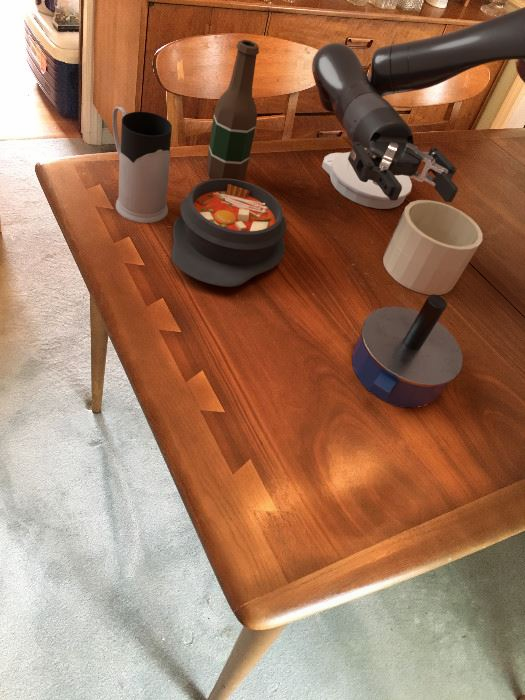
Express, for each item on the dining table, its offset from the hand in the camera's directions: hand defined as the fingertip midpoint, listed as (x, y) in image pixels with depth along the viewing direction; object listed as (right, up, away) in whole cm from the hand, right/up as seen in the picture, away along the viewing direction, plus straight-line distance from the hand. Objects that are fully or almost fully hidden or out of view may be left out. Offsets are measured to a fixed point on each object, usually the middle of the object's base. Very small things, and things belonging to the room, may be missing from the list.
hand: (425, 195), depth 72 cm
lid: (0, +15, +45) cm, 48 cm away
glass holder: (-43, +6, +24) cm, 50 cm away
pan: (-2, -23, +9) cm, 25 cm away
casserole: (-27, -3, +21) cm, 34 cm away
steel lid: (0, -19, +6) cm, 20 cm away
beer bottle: (-28, +14, +36) cm, 48 cm away
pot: (+7, -5, +28) cm, 29 cm away
